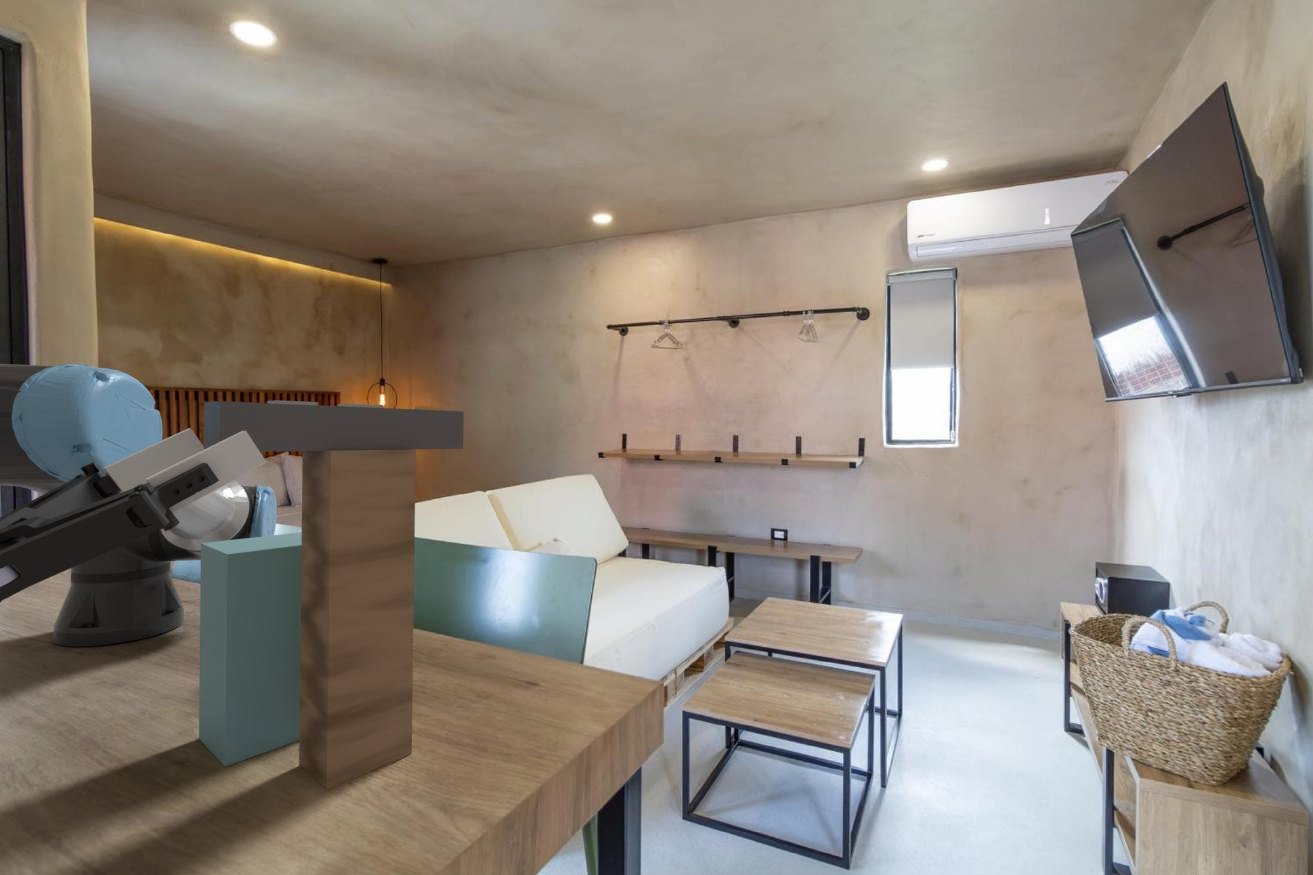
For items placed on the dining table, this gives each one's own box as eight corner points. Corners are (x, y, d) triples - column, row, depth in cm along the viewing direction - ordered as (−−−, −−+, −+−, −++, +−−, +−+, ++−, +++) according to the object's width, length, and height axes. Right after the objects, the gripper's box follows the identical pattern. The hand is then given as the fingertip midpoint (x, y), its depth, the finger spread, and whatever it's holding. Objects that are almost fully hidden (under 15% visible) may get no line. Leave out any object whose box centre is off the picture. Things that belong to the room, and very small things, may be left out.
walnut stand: (299, 765, 58) (302, 448, 58) (381, 733, 64) (385, 447, 64) (326, 789, 54) (330, 451, 54) (411, 753, 60) (415, 449, 60)
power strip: (203, 450, 51) (204, 397, 51) (442, 447, 68) (442, 408, 68) (219, 452, 48) (220, 396, 48) (463, 448, 65) (463, 407, 65)
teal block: (198, 738, 63) (200, 543, 62) (308, 703, 71) (310, 531, 71) (225, 766, 58) (227, 554, 57) (340, 725, 66) (342, 539, 66)
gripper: (-97, 629, 45) (204, 473, 59) (-98, 744, 29) (313, 494, 43) (-184, 548, 42) (155, 404, 56) (-237, 628, 26) (253, 400, 40)
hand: (225, 443), depth 50 cm, fingers open, 13 cm apart
